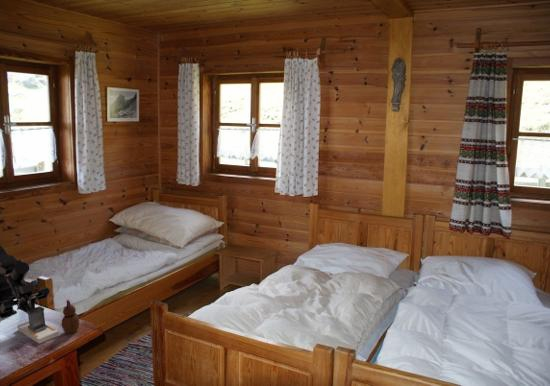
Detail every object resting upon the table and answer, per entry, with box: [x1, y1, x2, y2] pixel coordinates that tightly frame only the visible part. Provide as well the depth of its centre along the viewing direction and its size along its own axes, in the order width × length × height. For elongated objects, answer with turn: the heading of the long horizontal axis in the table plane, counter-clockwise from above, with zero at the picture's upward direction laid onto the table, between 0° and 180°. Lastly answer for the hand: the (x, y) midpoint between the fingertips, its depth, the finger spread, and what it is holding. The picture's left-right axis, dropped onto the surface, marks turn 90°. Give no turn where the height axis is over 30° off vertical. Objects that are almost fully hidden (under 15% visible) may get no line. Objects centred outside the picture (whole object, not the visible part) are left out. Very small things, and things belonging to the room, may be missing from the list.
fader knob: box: [26, 306, 48, 332], centre depth 192 cm, size 6×5×8 cm
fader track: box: [17, 320, 60, 344], centre depth 193 cm, size 18×8×2 cm, turn 53°
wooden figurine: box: [61, 299, 80, 334], centre depth 193 cm, size 7×6×15 cm
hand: (34, 316), depth 193 cm, fingers closed, pressing on fader knob
